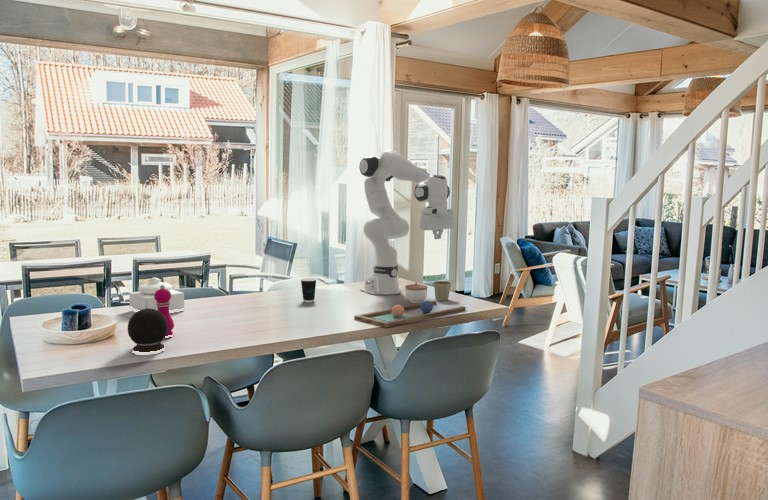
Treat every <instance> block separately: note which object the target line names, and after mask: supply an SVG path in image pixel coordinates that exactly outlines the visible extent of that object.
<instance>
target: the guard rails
mask: <svg viewBox="0 0 768 500" xmlns="http://www.w3.org/2000/svg"><path fill="white" fill-rule="evenodd" d="M429 301H430V302H431V303H432V305H433V306H436V305H437V300H429ZM401 306H402V307H403V308H404V312H405V311H409V310H410V311H411V310H415V309H421V308H420V306H421V303H412V304H409V305H404V306H403V305H401ZM464 310H465V311H466V306H462V305H460V306H456V307H453V308H452V307H451V308H447V309H443V310H439V311H433V312H432V311H431V312H429V313H423V314H419V315H418V314H417V315H413V316H412V317H408V318H403V319H398V320H394V321H389V322H387V321H383V320H379V319H375V318H372V317H377V316H382V315H387V314H392V308H388V309H387V308H386V309H381V310H375V311H372V312H367V313H361V314H356V315H353V317H354V320H356V321H360V322H364V323H367V324H371V325H374V326H379V327H382V328H391V327H394V326H399V325H404V324H409V323H413V322H417V321H423V320H428V319H431V318H436V317H440V316H446V315H450V314H451V315H452V314H455V313H461V312H463V311H464ZM465 311H464V312H465Z"/></svg>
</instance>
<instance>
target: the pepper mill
mask: <svg viewBox="0 0 768 500" xmlns="http://www.w3.org/2000/svg"><path fill="white" fill-rule="evenodd" d="M154 298H155V300H156V301H157V302H156V306H157V308H158V311H159V312H161V313H162V314H163V315H164V316H165V318H166V320H167V323H168V331H167V334H166V336H168V335H172V334H173V335H174V332H173V331H172V330H173V329H174V328H175V323H174V320H173V318H172V316H171V314H170V313H169V306H170V301H169V300H170V299H171V293H170V291H169V290H167V289H165V286H164V285H161V286H160V290H157V291H156V292H155V295H154Z"/></svg>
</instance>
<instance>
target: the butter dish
mask: <svg viewBox="0 0 768 500" xmlns="http://www.w3.org/2000/svg"><path fill="white" fill-rule="evenodd" d="M161 285H164V286H165V289H167V290H169V291H170V293H171V299H170V300H169V301H170V306H169V310H174V309H182V308H184V309H185V293H184V292H182V291H178V290H174V287H173V285H172V284H170V283H169V282H164V281H163V282H162V281H161V280H160V279H159V278H158V277H152V278H150V279H149V281H148V282H146V283H144V284H141V285H139V286H138V287H137V291H134V292H133V291H132V292H129V297H128V298H129V307H130V306H132V307H133V308H135V309H137V310H142V309H147V308H148V309H155V310H157V311H158V308H157V306H156V302H157V301H156V300H155V298H154V295H155V292H156V291H157V290H160V286H161Z"/></svg>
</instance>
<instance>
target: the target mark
mask: <svg viewBox="0 0 768 500" xmlns="http://www.w3.org/2000/svg"><path fill="white" fill-rule="evenodd" d="M408 317H413V316H412V315H407V314H405V313H404V314H403V316H401V317H395V316H394V315H393V314H392V313H391V314H386V315H380V316H375V317H371V318H372V319H376V320H380V321H384V322H389V321H394V320H398V319H403V318H408Z"/></svg>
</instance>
